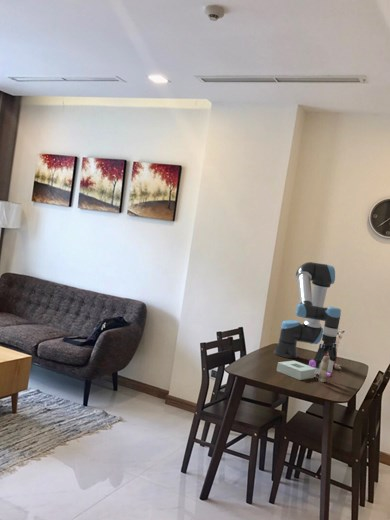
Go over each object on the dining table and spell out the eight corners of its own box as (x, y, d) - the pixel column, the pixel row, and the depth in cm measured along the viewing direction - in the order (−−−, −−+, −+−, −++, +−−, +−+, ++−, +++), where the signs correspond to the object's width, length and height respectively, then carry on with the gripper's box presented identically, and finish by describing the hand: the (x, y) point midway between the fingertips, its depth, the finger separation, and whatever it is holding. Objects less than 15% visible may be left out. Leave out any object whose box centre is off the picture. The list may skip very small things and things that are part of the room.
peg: (320, 379, 271) (324, 355, 270) (326, 382, 268) (331, 357, 267) (316, 380, 268) (321, 356, 268) (323, 382, 265) (327, 358, 265)
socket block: (292, 368, 286) (294, 360, 286) (315, 377, 275) (317, 368, 274) (276, 370, 275) (277, 362, 275) (299, 380, 264) (301, 371, 263)
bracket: (308, 372, 283) (310, 361, 283) (307, 370, 288) (309, 359, 288) (330, 377, 280) (332, 365, 280) (329, 375, 286) (331, 363, 286)
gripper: (335, 332, 278) (329, 368, 279) (311, 333, 261) (305, 372, 262) (346, 335, 272) (340, 372, 274) (323, 337, 256) (317, 376, 257)
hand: (323, 372), depth 268 cm, fingers open, 12 cm apart
